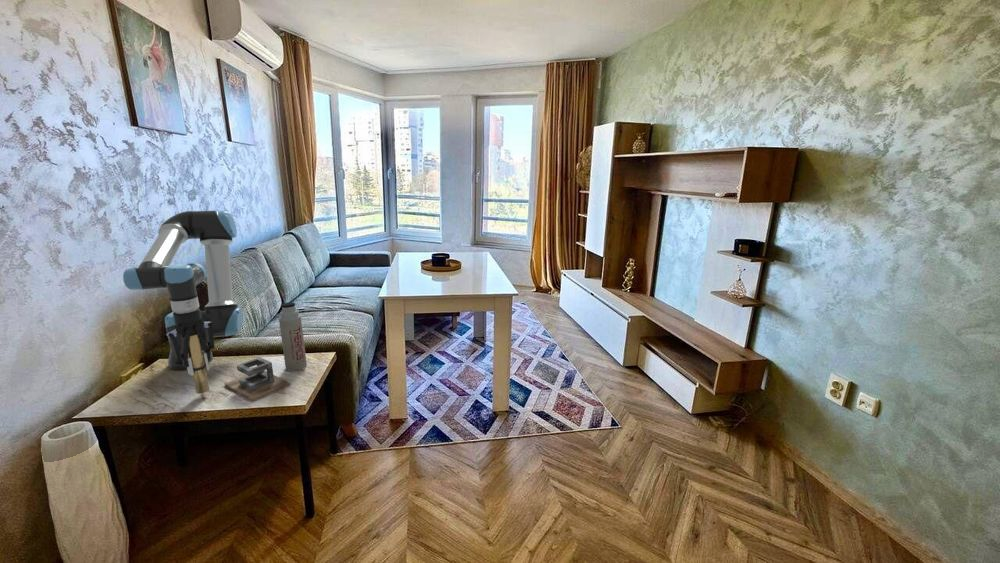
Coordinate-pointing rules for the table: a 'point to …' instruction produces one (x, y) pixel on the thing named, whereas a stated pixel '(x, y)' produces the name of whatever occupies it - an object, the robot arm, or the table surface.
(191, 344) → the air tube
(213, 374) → the table surface
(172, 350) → the robot arm
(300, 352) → the thermos bottle
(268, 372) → the collar stand
